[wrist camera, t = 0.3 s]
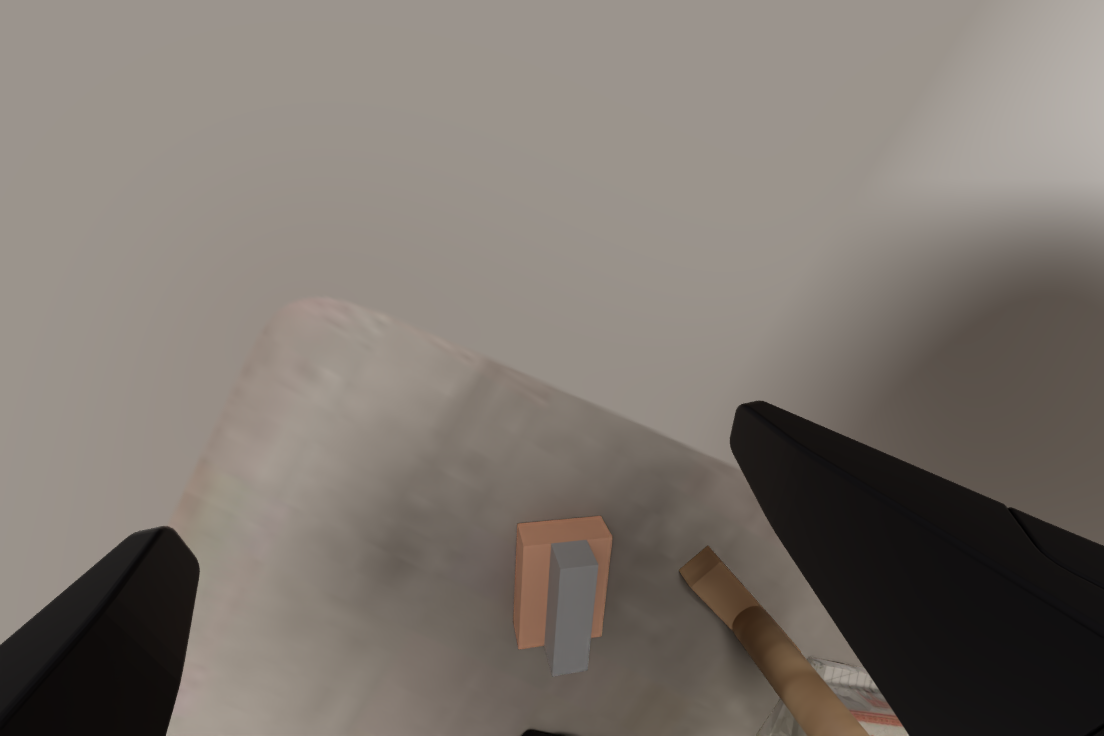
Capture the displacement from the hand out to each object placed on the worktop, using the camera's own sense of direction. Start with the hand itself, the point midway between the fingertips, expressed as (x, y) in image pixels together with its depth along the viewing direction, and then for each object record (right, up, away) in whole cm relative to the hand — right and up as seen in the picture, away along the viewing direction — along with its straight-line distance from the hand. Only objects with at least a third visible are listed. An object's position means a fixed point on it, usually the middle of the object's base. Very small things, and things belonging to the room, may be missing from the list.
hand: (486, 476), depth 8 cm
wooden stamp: (+14, -15, +26) cm, 33 cm away
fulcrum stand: (+1, -10, +21) cm, 23 cm away
